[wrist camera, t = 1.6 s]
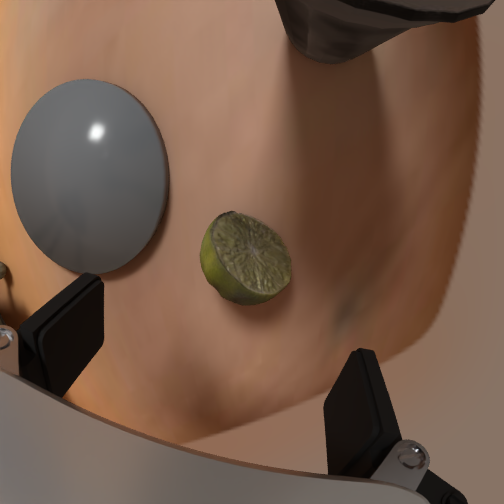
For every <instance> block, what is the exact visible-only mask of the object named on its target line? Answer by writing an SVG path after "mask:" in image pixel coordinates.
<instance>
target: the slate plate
mask: <svg viewBox="0 0 504 504" xmlns="http://www.w3.org/2000/svg"><path fill="white" fill-rule="evenodd" d="M11 185H12V193H13V198H14V202H15V206H16V209H17V212H18V215H19V217H20V220H21V222H22V224H23V226H24V228H25V230H26V231H27V233H28V235H29V236H30V238H31V239H32V241H33V242H34V243H35V244H36V246H37V247H38V248H39V249H40V250H41V251H42V252H43V253H44V254H45V255H46V256H47V257H49V258H50V259H51V260H52V261H54V262H55V263H57V264H59V265H60V266H62V267H64V268H67V269H69V270H71V271H75V272H78V273H85V272H88V273H91V274H101V273H107V272H110V271H113V270H115V269H118V268H119V267H121V266H123V265H125V264H126V263H128V262H129V261H130V260H131V259H133V258H134V257H135V256H136V255H137V254H138V253H139V252H141V250H142V249H143V248H144V247H145V246H146V245H147V244H148V243H149V241H150V240H151V239H152V237H153V236H154V234H155V232H156V230H157V229H158V227H159V225H160V223H161V220H162V217H163V214H164V211H165V207H166V203H167V199H168V190H169V166H168V158H167V153H166V149H165V144H164V141H163V138H162V136H161V133H160V130H159V128H158V126H157V124H156V122H155V121H154V119H153V117H152V115H151V114H150V113H149V111H148V110H147V109H146V107H145V106H144V105H143V104H142V103H141V102H140V101H139V100H138V99H137V98H136V97H135V96H134V95H132V94H131V93H130V92H128V91H127V90H125V89H123V88H121V87H119V86H117V85H114V84H111V83H108V82H104V81H98V80H90V79H82V80H74V81H70V82H66V83H64V84H61V85H59V86H57V87H55V88H53V89H52V90H50V91H49V92H47V93H46V94H45V95H44V96H42V97H41V98H40V99H39V100H38V101H37V102H36V103H35V105H34V106H33V107H32V108H31V110H30V111H29V112H28V114H27V115H26V117H25V119H24V121H23V123H22V124H21V127H20V129H19V132H18V134H17V137H16V140H15V144H14V148H13V153H12V160H11Z"/></svg>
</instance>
